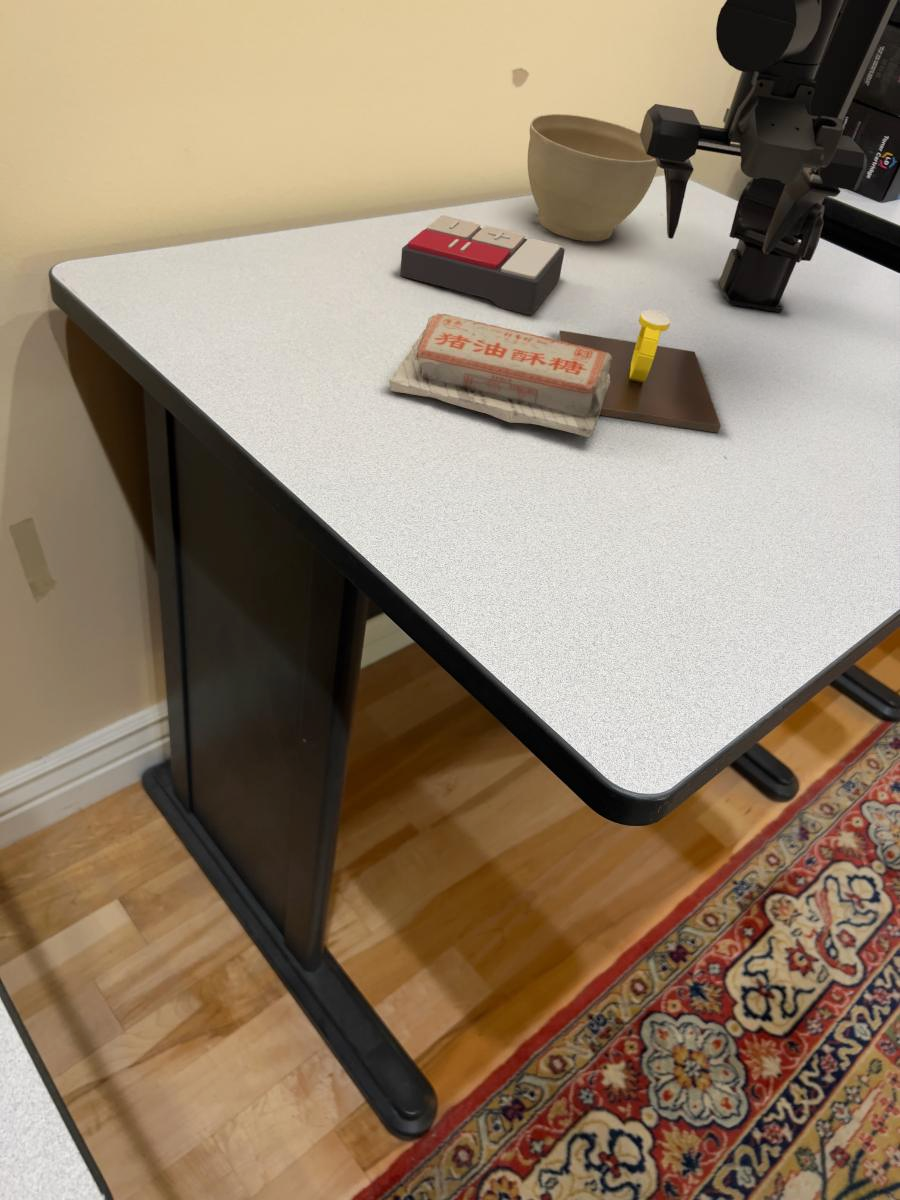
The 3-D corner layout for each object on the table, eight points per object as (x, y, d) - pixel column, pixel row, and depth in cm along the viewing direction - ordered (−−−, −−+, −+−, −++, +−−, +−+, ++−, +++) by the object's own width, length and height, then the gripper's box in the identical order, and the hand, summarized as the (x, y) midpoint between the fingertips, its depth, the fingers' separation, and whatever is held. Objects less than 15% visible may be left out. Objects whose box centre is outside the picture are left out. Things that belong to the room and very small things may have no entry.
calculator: (439, 210, 99) (567, 241, 96) (435, 248, 102) (560, 279, 99) (400, 240, 92) (539, 275, 89) (398, 281, 94) (531, 316, 91)
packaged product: (621, 338, 78) (603, 392, 71) (609, 387, 81) (590, 443, 74) (426, 294, 80) (390, 341, 73) (422, 343, 84) (387, 393, 77)
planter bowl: (622, 267, 105) (650, 171, 98) (495, 229, 108) (513, 132, 100) (648, 226, 117) (675, 138, 109) (533, 193, 119) (552, 104, 112)
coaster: (692, 358, 90) (694, 351, 90) (718, 433, 80) (721, 425, 80) (557, 337, 89) (559, 329, 89) (566, 410, 79) (568, 402, 78)
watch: (623, 357, 86) (642, 299, 82) (651, 363, 86) (671, 306, 82) (620, 386, 82) (639, 326, 78) (649, 393, 82) (670, 333, 78)
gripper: (688, 61, 65) (629, 266, 76) (929, 102, 67) (837, 298, 78) (667, 26, 73) (616, 216, 84) (882, 64, 75) (805, 246, 86)
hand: (717, 244), depth 83 cm, fingers open, 9 cm apart
